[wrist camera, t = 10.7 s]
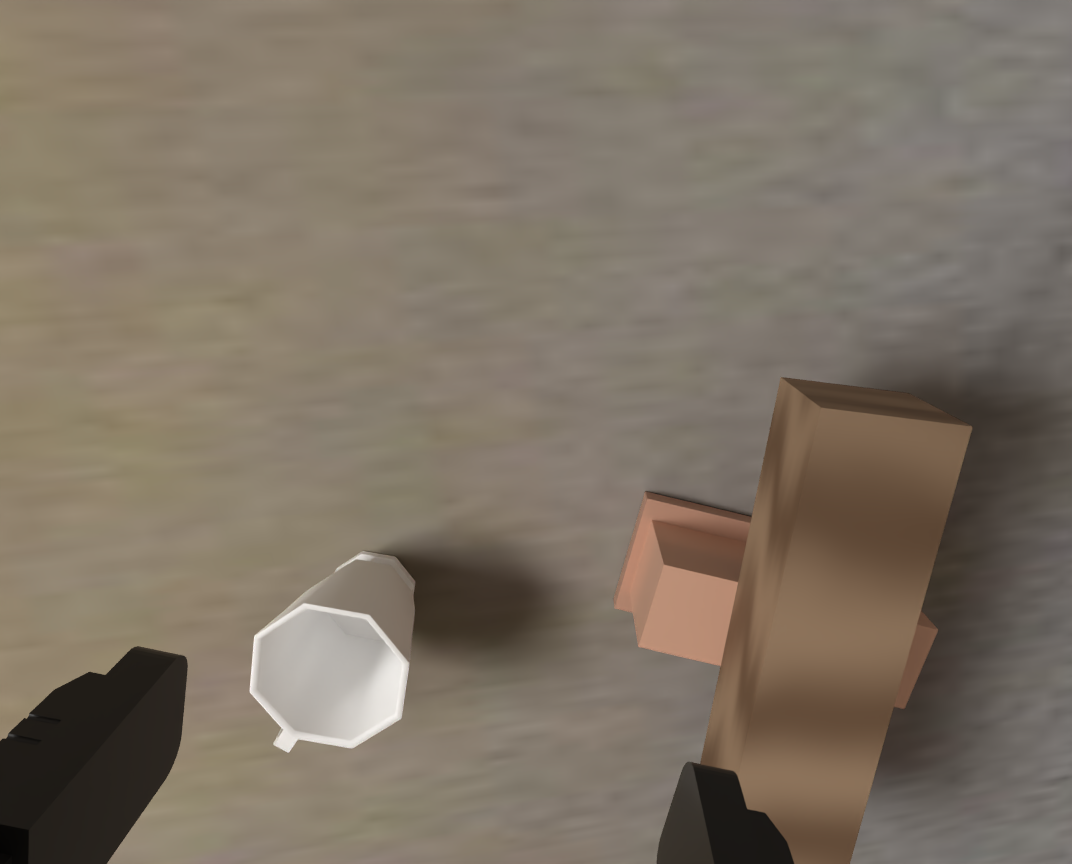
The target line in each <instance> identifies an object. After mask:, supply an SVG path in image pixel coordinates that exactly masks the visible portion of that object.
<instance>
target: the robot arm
mask: <svg viewBox="0 0 1072 864" xmlns="http://www.w3.org/2000/svg"><path fill="white" fill-rule="evenodd" d="M187 667H188V665H187V659H186V657H185V656H182V655H178V654H173V653H168V652H163V651H158V650H153V649H149V648H144V647H138V646H137V647H134V648H132V649H131V650H130V651H129V652H128V653H127V654H126V655H125V656H124V657H123V658H122V659H121V660H120V661H119V662H118V663H117V664H116V665H115V666H114V667H113V668H112V669H111V670H110V671H109V672H108V673H107V674H106V675H102V674H97V673H93V672H88V673H86V674H84V675H82V676H80V677H78V678H76V679H74V680H72V681H71V682H69V683H67V684H65V685H63V686H61V687H59V688H57V689H55V690H54V691H53V692H51V693H50V694H49V695H48V696H47V697H46V698H45V699H44V700H43V701H42V702H41V703H40V704H39V705H38V706H37V707H36V708H35V709H34V710H32V711H31V712H30V713H29V717H28V718H27V719H26V718H24V719H23V720H22V721H21V722H20V723H19V724H18V725H17V726H16V727H15V728H14V729H12V730H11V731H10V732H9V733H8V737H7V738H6V739H2V740H1V741H0V864H107V862H108V861H109V859H110V858H111V857H112V855H113V854H114V852H115V851H116V849H117V848H118V847H119V845H120V844H121V842H122V841H123V839H124V838H125V837H126V835H127V834H128V832H129V831H130V829H131V828H132V827H133V825H134V824H135V822H136V821H137V819H138V818H139V817H140V815H141V814H142V812H143V811H144V809H145V808H146V807H147V805H148V804H149V802H150V801H151V799H152V798H153V797H154V795H155V794H156V792H157V791H158V789H159V788H160V786H161V785H162V784H163V782H164V781H165V779H166V778H167V776H168V774H169V772H170V770H171V768H172V766H173V764H174V761H175V759H176V756H177V753H178V750H179V746H180V741H181V735H182V724H183V713H184V702H185V691H186V680H187ZM657 864H794V861H793V858H792V855H791V852H790V849H789V846H788V843H787V841H786V840H785V838H784V837H783V836H782V834H781V833H780V832H779V830H778V829H777V828H776V826H775V825H774V824H773V822H772V821H771V820H770V818H769V817H768V816H767V814H766V813H764V812H759V811H755V810H750V809H747V807H746V803H745V800H744V796H743V793H742V789H741V786H740V782H739V779H738V776H737V774H736V773H735V772H734V771H731V770H726V769H722V768H717V767H712V766H707V765H702V764H697V763H693V762H687V763H686V764H685V765H684V767H683V769H682V772H681V775H680V778H679V781H678V784H677V787H676V791H675V794H674V797H673V800H672V803H671V806H670V809H669V812H668V816H667V819H666V822H665V825H664V828H663V831H662V834H661V838H660V842H659V847H658V854H657Z"/></svg>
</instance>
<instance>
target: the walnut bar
mask: <svg viewBox="0 0 1072 864" xmlns="http://www.w3.org/2000/svg"><path fill="white" fill-rule="evenodd" d="M972 428H973V426H971V425H969V424H967V423H965V422H963V421H961V420H959V419H957V418H955V417H953V416H951V415H950V414H948V413H946V412H944V411H942V410H940V409H938V408H936V407H934V406H932V405H930V404H928V403H927V402H925V401H923V400H921V399H919V398H917V397H915V396H913V395H911V394H909V393H904V392H896V391H887V390H879V389H871V388H863V387H855V386H847V385H839V384H831V383H823V382H815V381H807V380H799V379H791V378H783V377H781V379H780V384H779V389H778V393H777V398H776V403H775V408H774V413H773V417H772V422H771V427H770V432H769V437H768V441H767V446H766V451H765V456H764V461H763V465H762V470H761V475H760V480H759V485H758V489H757V494H756V499H755V504H754V509H753V513H752V518H751V523H750V528H749V533H748V537H747V542H746V547H745V552H744V557H743V561H742V566H741V571H740V576H739V581H738V585H737V590H736V595H735V600H734V605H733V609H732V614H731V619H730V624H729V629H728V633H727V638H726V643H725V648H724V653H723V657H722V662H721V667H720V672H719V677H718V681H717V686H716V691H715V696H714V701H713V705H712V710H711V715H710V720H709V725H708V729H707V734H706V739H705V744H704V748H703V753H702V758H701V763H700V764H702V765H707V766H712V767H717V768H722V769H726V770H731V771H734V772H735V773H736V774H737V776H738V779H739V782H740V786H741V789H742V793H743V796H744V800H745V803H746V807H747V809H750V810H755V811H759V812H764V813H766V814H767V816H768V817H769V818H770V820H771V821H772V822H773V824H774V825H775V826H776V828H777V829H778V830H779V832H780V833H781V834H782V836H783V837H784V838H785V840H786V841H787V843H788V846H789V849H790V852H791V855H792V858H793V861H794V864H850V861H851V857H852V854H853V850H854V847H855V843H856V840H857V836H858V832H859V829H860V825H861V822H862V818H863V815H864V811H865V808H866V804H867V801H868V797H869V793H870V790H871V786H872V783H873V779H874V776H875V772H876V769H877V765H878V761H879V758H880V754H881V751H882V747H883V744H884V740H885V737H886V733H887V730H888V726H889V722H890V719H891V715H892V712H893V708H894V705H895V701H896V698H897V694H898V690H899V687H900V683H901V680H902V676H903V673H904V669H905V666H906V662H907V658H908V655H909V651H910V648H911V644H912V641H913V637H914V634H915V630H916V627H917V623H918V619H919V616H920V612H921V609H922V605H923V602H924V598H925V595H926V591H927V587H928V584H929V580H930V577H931V573H932V570H933V566H934V563H935V559H936V556H937V552H938V548H939V545H940V541H941V538H942V534H943V531H944V527H945V524H946V520H947V516H948V513H949V509H950V506H951V502H952V499H953V495H954V492H955V488H956V484H957V481H958V477H959V474H960V470H961V467H962V463H963V460H964V456H965V453H966V449H967V445H968V442H969V438H970V435H971V431H972Z"/></svg>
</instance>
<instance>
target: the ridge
mask: <svg viewBox="0 0 1072 864" xmlns="http://www.w3.org/2000/svg"><path fill="white" fill-rule="evenodd" d="M751 518H752V517H750V516H746V515H742V514H738V513H733V512H729V511H725V510H721V509H717V508H713V507H708V506H704V505H700V504H696V503H692V502H688V501H683V500H679V499H675V498H671V497H667V496H663V495H658V494H654V493H650V492H646V491H645V494H644V497H643V500H642V504H641V507H640V511H639V514H638V517H637V521H636V524H635V528H634V531H633V534H632V538H631V541H630V544H629V548H628V551H627V555H626V558H625V561H624V565H623V568H622V572H621V575H620V578H619V582H618V585H617V588H616V592H615V595H614V608H615V609H620V610H624V611H628V612H632V613H633V617H634V623H635V629H636V635H637V641H638V647H642V648H646V649H650V650H654V651H659V652H663V653H667V654H671V655H676V656H680V657H684V658H688V659H693V660H697V661H701V662H706V663H710V664H714V665H718V666H721V662H722V657H723V653H724V648H725V643H726V638H727V633H728V629H729V624H730V619H731V614H732V609H733V605H734V600H735V595H736V590H737V585H738V581H739V576H740V571H741V566H742V561H743V557H744V552H745V547H746V542H747V537H748V533H749V528H750V523H751ZM937 632H938V629H937V628H936V627H935V625H934V624H933V623H932V622H931V621H930V620H929V619H928V618H927V617H926V615H925V614H924V613H923V612H922V611H921V612H920V616H919V619H918V623H917V627H916V630H915V634H914V637H913V641H912V644H911V648H910V651H909V655H908V658H907V662H906V666H905V669H904V673H903V676H902V680H901V683H900V687H899V690H898V694H897V698H896V701H895V705H894V707H898V708H902V709H905V707H906V704H907V702H908V700H909V697H910V695H911V693H912V690H913V688H914V686H915V683H916V681H917V679H918V676H919V674H920V672H921V669H922V667H923V665H924V662H925V660H926V658H927V655H928V653H929V651H930V648H931V646H932V644H933V641H934V639H935V637H936V634H937Z"/></svg>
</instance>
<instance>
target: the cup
mask: <svg viewBox="0 0 1072 864" xmlns="http://www.w3.org/2000/svg"><path fill="white" fill-rule="evenodd" d="M414 589H415V580H414V579H413V578H412V577H411V575H410V574H409V573H408V572H407V570H406V569H405V568H404V567H403V565H402V564H401V563H400V562H399V560H398V559H397V558H396V557H395V556H389V555H384V554H378V553H372V552H367V551H362V552H360V553H359V554H357V555H356V556H354V557H353V558H351V559H350V560H348V561H347V562H345V563H344V564H342V565H341V566H339V567H338V568H337V569H336V571H335V572H334V573H333V574H331V575H330V576H328V577H327V578H325V579H324V580H322V581H321V582H319V583H318V584H316V585H315V586H313V587H312V588H310V589H309V590H307V591H306V592H305V593H304V594H302V595H301V596H300V597H299V598H298V599H297V600H296V601H295V602H293V603H292V604H291V605H290V606H289V607H288V608H287V609H286V610H284V611H283V612H282V613H281V614H280V615H278V616H277V617H276V618H275V619H274V620H272V621H271V622H270V623H269V624H268V625H266V626H265V627H264V628H263V629H262V630H261V631H260V632H258V633H257V634H256V635H255V636H254V646H253V658H252V670H251V682H250V693H251V694H252V695H253V696H254V697H255V699H256V700H257V701H258V702H259V703H260V704H261V705H262V706H263V708H264V709H265V710H266V711H267V712H268V713H269V714H270V715H271V717H272V718H273V719H274V720H275V721H276V722H277V723H278V724H279V726H280V727H281V730H280V732H279V734H278V736H277V738H276V740H275V741H274V743H273V744H274V745H275V746H277V747H279V748H281V749H282V750H284V751H286V752H288V753H289V751H290V750H291V749H292V747H293V746H294V744H295V743H296V741H297V740H298V739H300V740H306V741H312V742H318V743H323V744H329V745H335V746H340V747H346V748H354V747H356V746H357V745H359V744H360V743H362V742H364V741H365V740H367V739H369V738H370V737H372V736H374V735H375V734H377V733H379V732H380V731H382V730H384V729H385V728H387V727H388V726H390V725H392V724H393V723H395V722H397V721H398V720H400V719H401V718H402V711H403V705H404V698H405V691H406V684H407V677H408V671H409V664H410V655H411V645H412V633H413V624H414V616H415V605H414V597H413V596H414Z"/></svg>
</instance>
